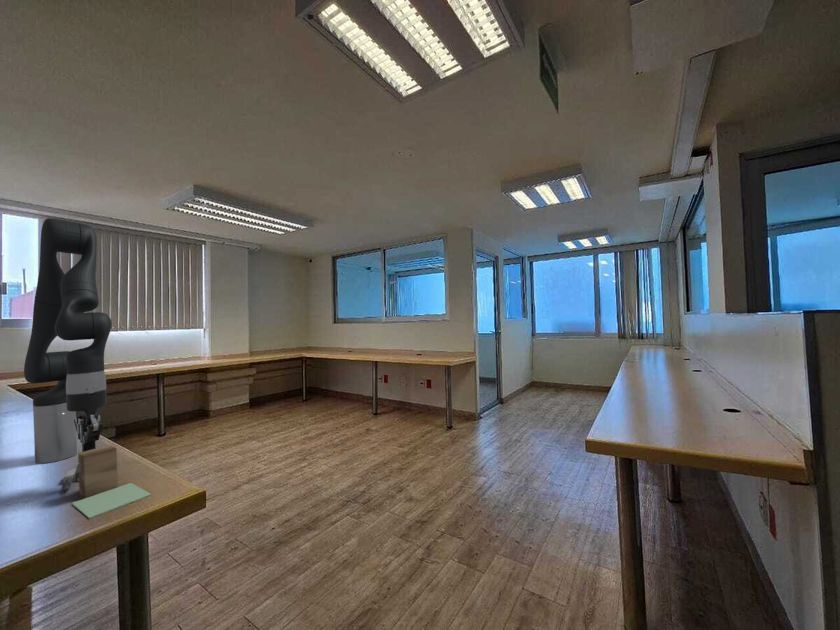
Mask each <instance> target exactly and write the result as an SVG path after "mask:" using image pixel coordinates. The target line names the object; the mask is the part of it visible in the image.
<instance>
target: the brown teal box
mask: <svg viewBox="0 0 840 630" xmlns="http://www.w3.org/2000/svg"><path fill="white" fill-rule="evenodd" d="M117 455H118V454H117V447H115V446H113V445H110V444H109V445H104V446H100V447H96V449H92V450H88V451H84V452H82V451H81V452H77V458H78V464H79V481H78V486H79V488H78V489H79V495H80V496H81V495H82V496H81V497H83V499H85V498H88V497H91V496H94V495H97V494H100V493H103V492H106V491H109V490H112V489H114V488H117V487H119V485H118V459H117V458H118V457H117Z"/></svg>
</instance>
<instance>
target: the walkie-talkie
mask: <svg viewBox="0 0 840 630" xmlns="http://www.w3.org/2000/svg"><path fill="white" fill-rule="evenodd" d="M71 482H72V483H76V482H78V483H79V463H78V464H77V465H76V467H75V468H72V469H70V470H68V471H66V473H65V475H64V476H63V483H64V487H63V491H64V492H68V491H69V490H70V487H71V485H72V483H71Z"/></svg>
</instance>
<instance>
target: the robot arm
mask: <svg viewBox="0 0 840 630" xmlns="http://www.w3.org/2000/svg"><path fill="white" fill-rule="evenodd" d="M40 232H41V233H40V246H39V247H40V248H39V250H40V251H39V269H38V278H37V285H36V288H35V289H36V290H35V295H34V302H33V309H32V310H33V312H32V313H33V314H32V324H31V325H32V326H31V334H30V339H29V343H28V347H27V350H26V351H27V352H26V355H25V358H24V359H25V361H24V367H23V374H24V379H25V381H26V382H27V383H29V384H43V383H51V382H57V383H56V385H55V386H54V387H52V388H50V389H49V390H46V391H44V392H41V393H39V394H37V395H35V396H34V397H33V399H32V411H33V414H32V415H33V439H34V441H33V442H34V463H35V464H46V463H47V464H48V463H53V462H59V461H62V460H65V459H67V458H72V457H73V456H76V455H78V440H79V442H80V444H81V448H82V449H81V452H84V451H88V450H92V449H96V448H97V446H96V442H97V441H99V440H100V437H101V434H102V433H101V432H102V429H103V422H101V415H100V414H99V413H98V409H99V408H103V407H105V406H106V405H107V404H108V397H107V395H108V393H107V377H106V373H105V372H106V371H105V349H106V345H107V342H108V339H109V336H110V333H111V331H112V327H113V322H112V319H111V317H110V315H108V314H107V313H105V312H96V311H95V310H96V309H97V308H98V307H99V304H100V300H99V294H98V289H97V281H96V276H97V275H96V272H97V259H98V258H97V257H98V256H97V254H98V253H97V252H98V251H97V250H98V249H97V247H98V241H97V240H98V239H97V233H96V229H95V228H94V227H93V226H91V225H90V224H85V223H81V222H75V221H70V220H66V219H59V218H54V217H48V218H46V219H44V221H43V223H42V226H41V231H40ZM58 253H65V254H70V255H71V254H72V255H78V256H79V255H81V257H80V259H79V260H78V261H77V262H76V264H75V265H73V266H72V267H71V268H70V269H69V270H68V271H67V272H66V273H64V272H65V271H63V269H62V267H61V265H60V264H59V262H58V259H57V258H58V257H57V254H58ZM93 311H95V312H93ZM57 337H58V338H60V339H62V340H63V341H84V340H85V341H86V340H93V341H92V343H91V344H90V345H88V346H87V347H84V348H78V349H74V350H71V351H70V350H64V351H63V350H61V351H50V352H49V351H48V349H49V347H50V346H51V343H52V342H53V341H54V340H55V339H56V338H57ZM47 351H48V352H47Z"/></svg>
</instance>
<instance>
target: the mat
mask: <svg viewBox="0 0 840 630" xmlns="http://www.w3.org/2000/svg"><path fill="white" fill-rule="evenodd" d="M151 496H152V494H151V493H150V492H148V491H146V490H145V489H143V488H141V487H140V486H137V485H136V484H134V483H132V482H130V483H127V484H123V485H120V486H118V487H117V488H114V489H112V490H109V491H106V492H103V493H100V494H97V495H94V496H91V497H88V498H82V499H79V500H77V501H73V502H72V503H71V504H72V506H74V508H76V509H77V510H78V511H79V512H80V513H82V514H83V515H84V516H85V517H86V518H88V519H93V518H96V517H99V516H101V515H103V514H107V513H108V512H112V511H114V510H116V509H119V508H122V507H125V506H127V505H129V504H132V503H135V502H138V501H140V500H143V499H145V498H149V497H151Z"/></svg>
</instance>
